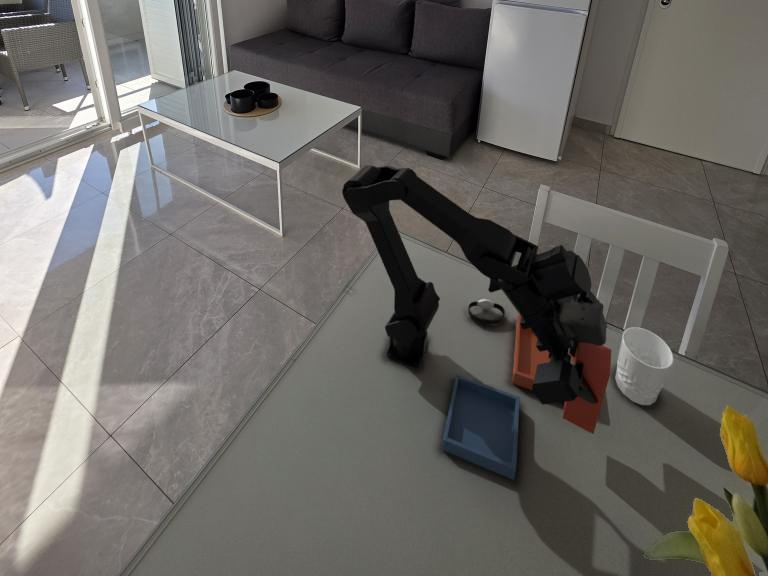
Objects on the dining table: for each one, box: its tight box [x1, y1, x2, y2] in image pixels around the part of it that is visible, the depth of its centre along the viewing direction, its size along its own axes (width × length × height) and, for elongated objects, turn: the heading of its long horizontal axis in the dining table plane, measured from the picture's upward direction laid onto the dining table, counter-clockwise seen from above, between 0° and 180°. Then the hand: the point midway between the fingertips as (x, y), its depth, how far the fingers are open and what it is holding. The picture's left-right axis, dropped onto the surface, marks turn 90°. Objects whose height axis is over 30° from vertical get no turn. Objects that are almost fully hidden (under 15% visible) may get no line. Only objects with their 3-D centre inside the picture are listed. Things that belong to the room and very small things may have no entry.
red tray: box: [512, 314, 575, 391], centre depth 83 cm, size 13×13×3 cm
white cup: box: [614, 326, 674, 406], centre depth 78 cm, size 8×8×10 cm
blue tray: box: [441, 374, 521, 481], centre depth 72 cm, size 11×11×2 cm
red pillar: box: [562, 342, 612, 435], centre depth 67 cm, size 4×4×13 cm
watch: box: [467, 298, 506, 326], centre depth 92 cm, size 8×5×4 cm, turn 85°
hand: (596, 388), depth 66 cm, fingers closed on red pillar, 4 cm apart
